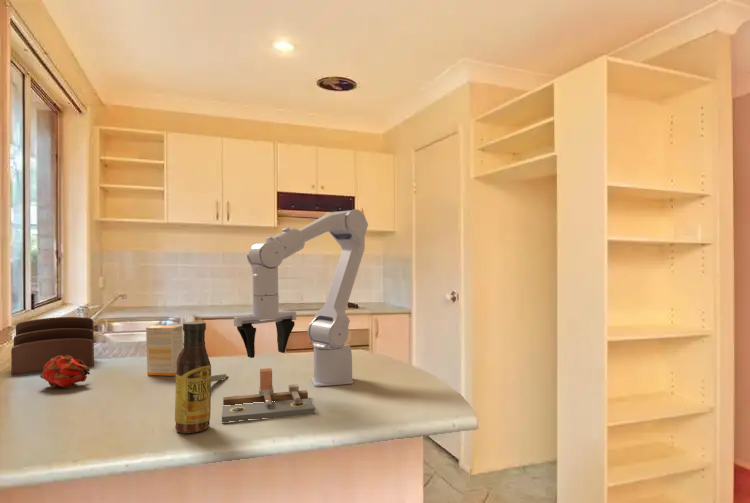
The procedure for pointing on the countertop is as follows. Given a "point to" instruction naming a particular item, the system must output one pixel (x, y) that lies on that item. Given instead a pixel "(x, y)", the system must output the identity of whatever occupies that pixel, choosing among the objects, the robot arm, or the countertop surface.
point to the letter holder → (51, 342)
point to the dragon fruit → (64, 371)
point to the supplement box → (163, 349)
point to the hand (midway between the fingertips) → (266, 354)
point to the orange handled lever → (266, 385)
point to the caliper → (218, 377)
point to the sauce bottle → (193, 381)
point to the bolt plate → (267, 410)
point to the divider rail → (281, 396)
